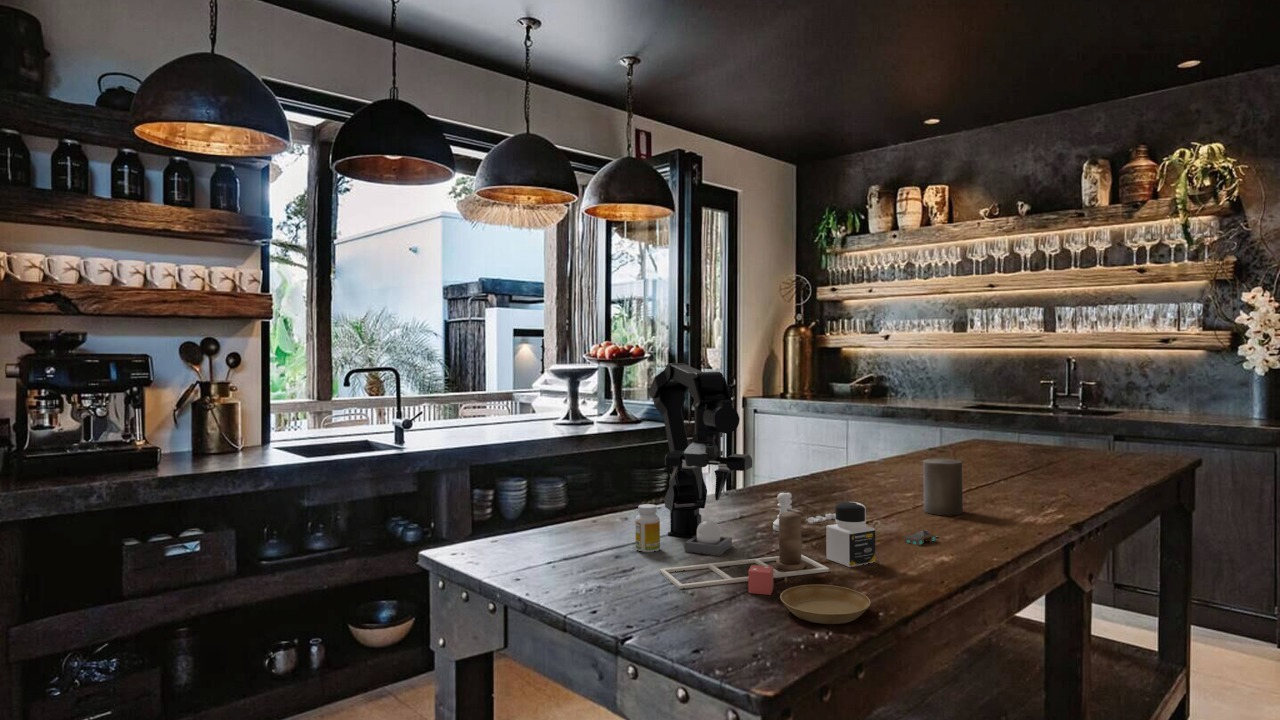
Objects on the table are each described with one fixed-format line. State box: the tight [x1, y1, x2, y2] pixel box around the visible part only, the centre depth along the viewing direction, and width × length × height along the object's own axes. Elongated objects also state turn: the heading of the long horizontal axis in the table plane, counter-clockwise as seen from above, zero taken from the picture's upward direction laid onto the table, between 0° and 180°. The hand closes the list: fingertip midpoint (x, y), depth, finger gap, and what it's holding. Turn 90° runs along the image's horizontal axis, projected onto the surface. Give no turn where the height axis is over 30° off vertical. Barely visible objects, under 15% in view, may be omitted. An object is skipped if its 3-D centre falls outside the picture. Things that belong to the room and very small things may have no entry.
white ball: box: [697, 519, 721, 545], centre depth 165 cm, size 5×5×5 cm
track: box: [658, 553, 830, 590], centre depth 149 cm, size 32×11×1 cm, turn 108°
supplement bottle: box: [635, 503, 661, 553], centre depth 165 cm, size 5×5×10 cm
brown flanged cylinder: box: [776, 513, 805, 572], centre depth 152 cm, size 6×6×10 cm
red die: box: [747, 564, 774, 596], centre depth 137 cm, size 4×4×4 cm
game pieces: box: [773, 492, 938, 546], centre depth 187 cm, size 45×13×6 cm, turn 35°
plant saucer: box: [779, 584, 871, 625], centre depth 126 cm, size 15×15×3 cm
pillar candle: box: [922, 455, 964, 517], centre depth 199 cm, size 10×10×15 cm
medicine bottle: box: [825, 501, 876, 568], centre depth 155 cm, size 7×7×12 cm
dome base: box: [684, 535, 733, 557], centre depth 165 cm, size 8×8×2 cm
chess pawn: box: [772, 492, 789, 532], centre depth 182 cm, size 5×5×9 cm
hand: (708, 499), depth 165 cm, fingers open, 4 cm apart
